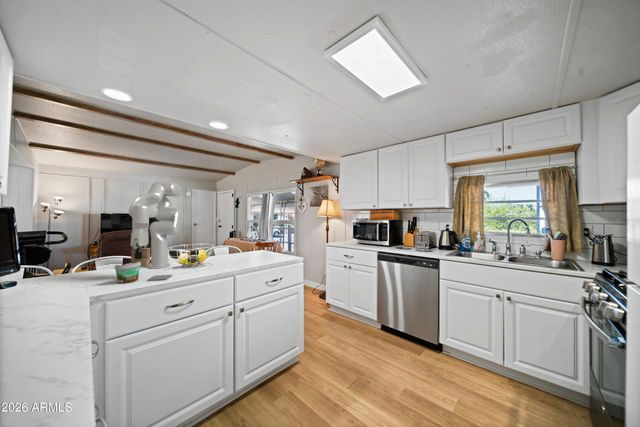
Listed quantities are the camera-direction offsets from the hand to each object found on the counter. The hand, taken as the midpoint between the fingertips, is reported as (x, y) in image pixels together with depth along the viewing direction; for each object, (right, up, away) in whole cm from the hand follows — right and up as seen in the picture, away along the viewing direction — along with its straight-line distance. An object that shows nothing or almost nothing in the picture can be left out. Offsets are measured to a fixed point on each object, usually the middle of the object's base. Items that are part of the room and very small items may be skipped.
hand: (140, 258), depth 134 cm
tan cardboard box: (0, -5, 0) cm, 5 cm away
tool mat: (+13, -11, -2) cm, 17 cm away
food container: (+1, -11, -8) cm, 14 cm away
